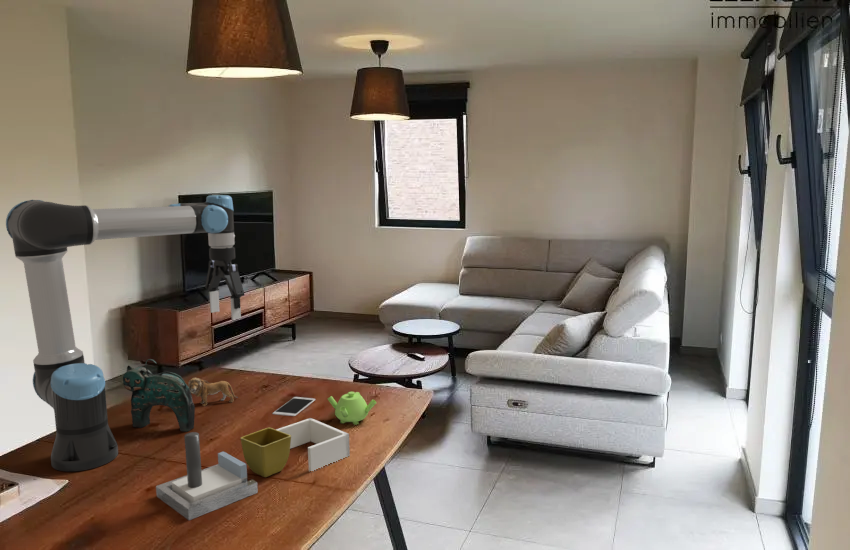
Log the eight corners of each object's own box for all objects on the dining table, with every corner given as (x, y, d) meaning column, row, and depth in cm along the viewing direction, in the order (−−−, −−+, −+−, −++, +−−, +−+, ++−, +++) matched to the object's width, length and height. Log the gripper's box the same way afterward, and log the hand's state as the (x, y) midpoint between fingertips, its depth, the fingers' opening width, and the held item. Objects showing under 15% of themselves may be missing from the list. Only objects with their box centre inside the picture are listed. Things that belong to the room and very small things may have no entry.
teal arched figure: (124, 428, 191) (119, 359, 187) (139, 419, 197) (134, 353, 194) (187, 434, 186) (182, 364, 183) (200, 425, 192) (196, 357, 189)
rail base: (189, 520, 141) (188, 509, 140) (156, 496, 151) (155, 486, 151) (257, 492, 153) (257, 482, 152) (223, 472, 163) (222, 462, 162)
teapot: (362, 410, 203) (361, 383, 201) (378, 423, 193) (377, 394, 191) (326, 417, 197) (326, 389, 196) (341, 431, 188) (340, 401, 186)
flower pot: (270, 460, 169) (269, 426, 168) (293, 470, 164) (292, 435, 162) (241, 472, 162) (239, 437, 161) (264, 483, 157) (262, 446, 156)
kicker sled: (194, 510, 144) (189, 445, 142) (172, 494, 151) (167, 432, 149) (247, 488, 154) (244, 427, 151) (224, 475, 160) (221, 416, 158)
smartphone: (316, 398, 213) (294, 415, 198) (316, 400, 213) (294, 417, 199) (294, 396, 215) (271, 413, 201) (294, 398, 215) (271, 415, 201)
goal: (311, 472, 163) (310, 448, 162) (273, 452, 174) (272, 430, 173) (349, 456, 171) (349, 433, 170) (311, 439, 182) (310, 417, 181)
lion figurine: (191, 409, 205) (189, 381, 203) (188, 404, 209) (186, 376, 208) (239, 401, 211) (238, 373, 210) (236, 396, 216) (234, 369, 215)
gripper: (254, 249, 198) (257, 319, 201) (214, 242, 216) (217, 307, 219) (230, 251, 193) (234, 323, 196) (191, 244, 211) (195, 310, 214)
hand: (225, 315), depth 208 cm, fingers open, 13 cm apart
